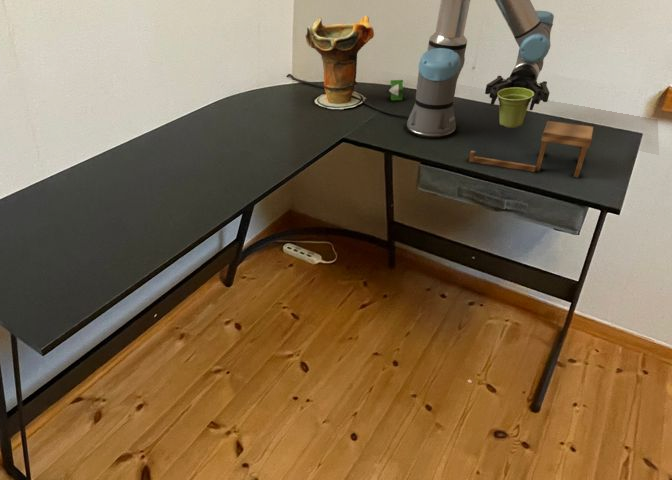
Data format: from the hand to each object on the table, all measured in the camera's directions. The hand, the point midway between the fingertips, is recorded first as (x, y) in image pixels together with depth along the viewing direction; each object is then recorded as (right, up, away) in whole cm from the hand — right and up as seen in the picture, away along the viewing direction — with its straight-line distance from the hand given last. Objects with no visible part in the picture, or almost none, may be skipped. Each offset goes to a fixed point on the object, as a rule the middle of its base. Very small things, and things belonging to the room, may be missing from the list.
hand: (512, 102), depth 162 cm
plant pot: (+3, -4, +7) cm, 9 cm away
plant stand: (+9, -13, +11) cm, 19 cm away
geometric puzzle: (-20, +18, +53) cm, 60 cm away
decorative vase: (-41, +17, +54) cm, 70 cm away
